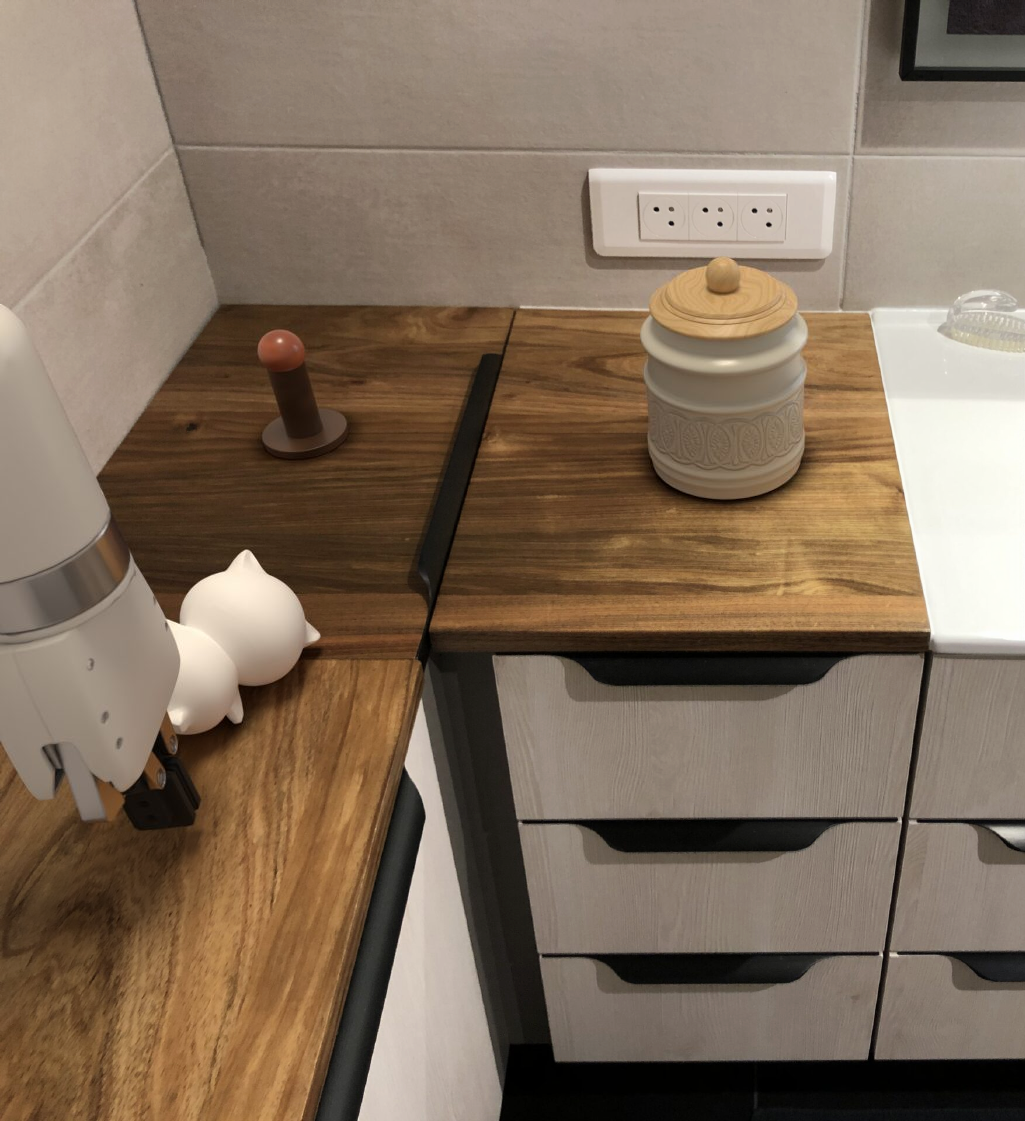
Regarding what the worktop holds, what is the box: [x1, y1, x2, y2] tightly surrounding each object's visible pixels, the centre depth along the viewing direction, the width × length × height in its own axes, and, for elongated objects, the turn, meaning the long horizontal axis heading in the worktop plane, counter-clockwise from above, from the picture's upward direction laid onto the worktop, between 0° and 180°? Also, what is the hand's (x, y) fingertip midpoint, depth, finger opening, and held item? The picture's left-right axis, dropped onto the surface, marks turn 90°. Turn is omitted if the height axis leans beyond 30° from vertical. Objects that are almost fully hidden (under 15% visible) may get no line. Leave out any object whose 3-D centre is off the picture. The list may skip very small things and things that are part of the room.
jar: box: [639, 256, 809, 500], centre depth 89 cm, size 13×13×18 cm
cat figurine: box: [166, 549, 321, 736], centre depth 72 cm, size 9×11×12 cm
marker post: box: [257, 329, 350, 460], centre depth 94 cm, size 7×7×10 cm
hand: (169, 816), depth 63 cm, fingers closed
